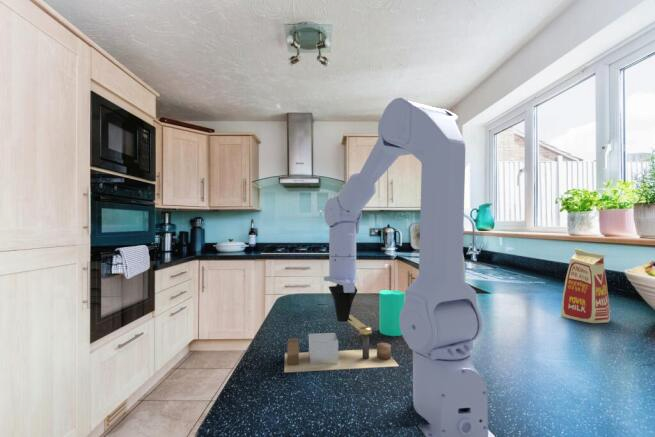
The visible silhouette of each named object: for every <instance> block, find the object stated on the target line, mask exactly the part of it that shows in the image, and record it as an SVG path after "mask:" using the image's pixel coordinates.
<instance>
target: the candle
mask: <svg viewBox="0 0 655 437" xmlns="http://www.w3.org/2000/svg"><path fill="white" fill-rule="evenodd" d="M378 293H379V294H378V297H379V298H378V299H379V300H378V302H379V304H378V307H379V308H378V310H379V314H378V316H379V325H378V326H379V329H378V332H380V334H382V335H385V336H391V337H400V336H403V335H402V333H401V330H400V313H401V310H402V308H403V305H404V302H405V292H402V291H400V290H389V289H384V290H383V289H382V290H380V291H379V292H378Z"/></svg>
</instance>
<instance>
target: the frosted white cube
mask: <svg viewBox="0 0 655 437" xmlns="http://www.w3.org/2000/svg"><path fill="white" fill-rule="evenodd" d="M338 351H339V339H338V336H337V334H336V332H321V333H308V352H309V361H310V366H313V365H332V364H338Z"/></svg>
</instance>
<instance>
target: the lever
mask: <svg viewBox="0 0 655 437" xmlns="http://www.w3.org/2000/svg"><path fill="white" fill-rule="evenodd" d="M347 322H348V323H350V325H351V326H353V327H354V328H355V329H357V330H358V331H359V334H360V335H362V334H363V335H369V336H370V335H372V327H371V326H367V325H366V324H364V323H362V322H361V320H358V319H357V318H356V317H354V316H353V315H352V314H350V315H349V319H348V321H347Z"/></svg>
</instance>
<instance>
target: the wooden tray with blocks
mask: <svg viewBox="0 0 655 437" xmlns="http://www.w3.org/2000/svg"><path fill="white" fill-rule="evenodd" d="M361 335H362V337H361V338H362V349H349V350H345V349H344V350H338V364H332V365H313V366H310V361H309V351H307V352H306V351H305V352H300V350H299V349H300V342H299V338H287V349H286V350H287V351H286V352H285V353H284V366H283V367H284V368H283V372H284V373H301V372H303V373H304V372H318V371H336V370H338V371H339V370H354V369H357V370H358V369H374V368H392V367H395V368H396V367H400V365H399V364H398V363H397V361H396V360H395V359H394V358H393V357H392V345H391V344H390V343H388V342H378V343H377V344H376V348H370V335H363V334H361Z"/></svg>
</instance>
